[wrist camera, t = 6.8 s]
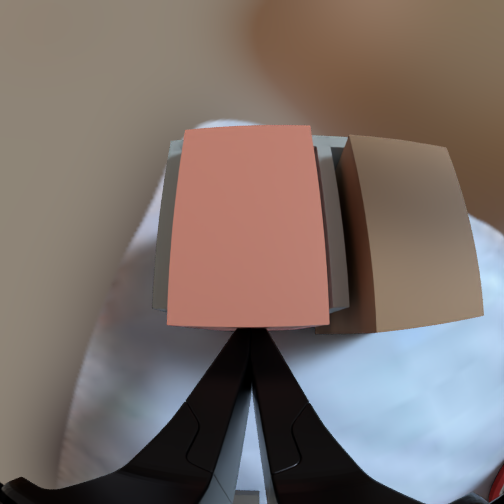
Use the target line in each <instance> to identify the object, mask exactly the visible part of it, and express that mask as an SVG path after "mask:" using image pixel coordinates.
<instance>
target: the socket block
mask: <svg viewBox="0 0 504 504" xmlns="http://www.w3.org/2000/svg"><path fill="white" fill-rule="evenodd" d="M347 139H348V137H335V136H315V135H312V140H313V147H314V154H315V161H316V168H317V175H318V183H319V191H320V200H321V209H322V218H323V228H324V239H325V251H326V265H327V280H328V298H329V314H330V313H333V312H336V311H339V310H342V309H344V308H347V307H349V290H348V276H347V264H346V253H345V243H344V234H343V225H342V217H341V209H340V202H339V195H338V188H337V182H336V176H335V170H336V168H337V165H338V162H339V160H340V157H341V155H342V152H343V150H344V147H345V144H346V142H347ZM183 141H184V140H177V141H171V144H170V150H169V156H168V161H167V167H166V173H165V179H164V186H163V193H162V200H161V208H160V216H159V225H158V234H157V244H156V255H155V267H154V282H153V300H152V309H156V310H160V311H164V312H167V305H168V282H169V265H170V251H171V239H172V228H173V217H174V208H175V199H176V190H177V182H178V175H179V167H180V160H181V153H182V147H183Z"/></svg>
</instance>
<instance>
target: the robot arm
mask: <svg viewBox="0 0 504 504" xmlns="http://www.w3.org/2000/svg"><path fill="white" fill-rule="evenodd" d="M251 392H252V393H253V402H254V410H255V418H256V425H257V433H258V440H259V448H260V455H261V462H262V469H263V476H264V483H265V490H266V497H267V504H425V503H422V502H420V501H417V500H415V499H413V498H411V497H408V496H406V495H404V494H402V493H400V492H397V491H395V490H393V489H391V488H389V487H387V486H385V485H383V484H381V483H379V482H377V481H376V480H374V479H373V478H371V477H370V476H369V475H367V474H366V473H365V472H364V471H363V470H362V469H361V468H360V467H359V466H358V465H357V464H356V462H355V461H354V460H353V459H352V458H351V457H350V456H349V455H348V453H347V452H346V451H345V450H344V449H343V448H342V446H341V445H340V444H339V443H338V442H337V441H336V439H335V438H334V437H333V436H332V434H331V433H330V432H329V431H328V429H327V428H326V427H325V426H324V424H323V423H322V421H321V420H320V418H319V416H318V415H317V413H316V412H315V410H314V409H313V407H312V405H311V404H310V403H309V401H308V399H307V397H306V395H305V394H304V392H303V390H302V389H301V387H300V385H299V384H298V382H297V380H296V379H295V377H294V375H293V374H292V372H291V370H290V368H289V367H288V365H287V363H286V362H285V360H284V358H283V356H282V355H281V353H280V351H279V350H278V348H277V346H276V344H275V343H274V341H273V339H272V337H271V336H270V334H269V332H268V330H267V329H266V328H237V329H236V330H235V332H234V333H233V334H232V336H231V337H230V339H229V340H228V342H227V343H226V344H225V346H224V347H223V349H222V350H221V352H220V353H219V354H218V356H217V357H216V359H215V360H214V362H213V363H212V364H211V366H210V367H209V369H208V370H207V371H206V373H205V374H204V376H203V377H202V378H201V380H200V381H199V383H198V384H197V385H196V387H195V388H194V390H193V391H192V392H191V394H190V395H189V396H188V398H187V399H186V402H184V403H183V404H182V406H181V407H180V409H179V410H178V411H177V412H176V414H175V415H174V416H173V418H172V419H171V420H170V421H169V423H168V424H167V425H166V426H165V427H164V428H163V429H162V430H161V431H160V432H159V433H158V434H157V435H156V436H155V437H154V438H153V439H152V440H151V441H150V442H149V443H148V444H147V445H146V446H145V447H144V448H143V449H142V450H141V451H140V452H139V453H138V454H137V455H136V456H135V457H134V458H133V459H132V460H131V461H130V462H129V463H127V464H126V465H125V466H123V467H122V468H120V469H119V470H117V471H115V472H113V473H110V474H107V475H105V476H102V477H99V478H96V479H93V480H90V481H86V482H83V483H80V484H76V485H73V486H69V487H66V488H62V489H51V490H49V489H44V488H41V487H38V486H37V485H35V484H33V483H32V482H30V481H28V480H27V479H25V478H23V477H19V478H17V479H14V480H12V481H10V482H8V483H6V484H5V485H3V484H2V483H0V504H233V500H234V494H235V489H236V483H237V477H238V472H239V466H240V460H241V454H242V448H243V443H244V437H245V430H246V424H247V418H248V412H249V406H250V399H251ZM449 504H504V494H502V495H501V496H499V497H497V498H496V499H494V500H493V501H491V502H490V503H489V502H488V501H486V500H485V499H483V498H482V497H480V496H479V495H477V494H475V493H473V492H472V493H469V494H467V495H465V496H463V497H461V498H459V499H457V500H455V501H453V502H451V503H449Z"/></svg>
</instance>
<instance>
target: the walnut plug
mask: <svg viewBox="0 0 504 504" xmlns="http://www.w3.org/2000/svg"><path fill="white" fill-rule="evenodd" d="M335 176H336V182H337V188H338V195H339V202H340V209H341V217H342V225H343V234H344V243H345V253H346V264H347V276H348V290H349V307H347V308H344V309H342V310H339V311H336V312H333V313H330V314H329V325H323V326H316V327H315V334H356V333H378V332H387V331H395V330H403V329H410V328H418V327H424V326H431V325H437V324H443V323H449V322H454V321H460V320H465V319H470V318H475V317H480V316H484V311H483V299H482V289H481V281H480V273H479V266H478V260H477V254H476V249H475V244H474V239H473V234H472V230H471V225H470V221H469V217H468V213H467V209H466V205H465V202H464V199H463V195H462V192H461V188H460V185H459V182H458V179H457V176H456V173H455V170H454V167H453V164H452V162H451V159H450V157H449V154H448V151H447V148H445V147H440V146H434V145H429V144H423V143H417V142H410V141H403V140H396V139H388V138H379V137H369V136H359V135H349V136H348V139H347V142H346V144H345V147H344V150H343V152H342V155H341V157H340V160H339V162H338V165H337V168H336V170H335Z"/></svg>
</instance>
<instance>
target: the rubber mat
mask: <svg viewBox="0 0 504 504" xmlns="http://www.w3.org/2000/svg"><path fill="white" fill-rule="evenodd" d="M233 504H259V491H238V490H235V494H234V500H233Z"/></svg>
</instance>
